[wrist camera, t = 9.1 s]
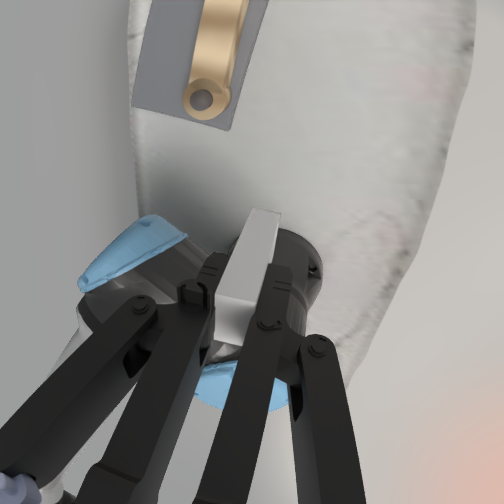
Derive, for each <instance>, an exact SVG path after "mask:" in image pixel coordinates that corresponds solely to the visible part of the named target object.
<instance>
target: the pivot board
mask: <svg viewBox="0 0 504 504" xmlns="http://www.w3.org/2000/svg"><path fill="white" fill-rule="evenodd" d="M268 1H269V0H249V3H248V7H247V12H246V16H245V20H244V24H243V28H242V33H241V37H240V41H239V46H238V50H237V55H236V59H235V64H234V69H233V73H232V78H231V83H230V89H231V93H232V98H231V102H230V105H229V106H228V108H227V109H226V110H225V111H223V112H222V113H220V114H219V115H217V116H216V117H214V118H212V119H209V120H198V119H196V118H193V117H192V116H190V115H189V114H188V113H187V111H186V110H185V108H184V105H183V101H182V97H183V92H184V90H185V88H186V87H187V85H188V84H189V78H190V73H191V67H192V61H193V56H194V50H195V45H196V40H197V35H198V30H199V25H200V20H201V16H202V11H203V7H204V2H205V0H153V1H152V5H151V9H150V12H149V16H148V21H147V25H146V29H145V33H144V38H143V42H142V47H141V52H140V57H139V62H138V67H137V73H136V79H135V85H134V91H133V97H132V104H131V106H132V107H137V108H141V109H145V110H150V111H154V112H158V113H162V114H166V115H170V116H174V117H178V118H182V119H186V120H190V121H193V122H197V123H201V124H204V125H208V126H211V127H215V128H218V129H222V130H225V131H228V130H230V128H231V124H232V120H233V117H234V113H235V109H236V106H237V102H238V99H239V95H240V92H241V88H242V85H243V81H244V78H245V75H246V71H247V68H248V64H249V61H250V58H251V55H252V51H253V48H254V45H255V42H256V38H257V35H258V32H259V29H260V26H261V23H262V20H263V16H264V13H265V10H266V7H267V4H268Z"/></svg>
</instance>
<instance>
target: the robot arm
mask: <svg viewBox="0 0 504 504" xmlns="http://www.w3.org/2000/svg"><path fill="white" fill-rule="evenodd" d="M280 214H281V213H277V212H271V211H266V210H261V209H256V208H252V209H251V212H250V214H249V216H248V219H247V221H246V223H245V225H244V228H243V230H242V232H241V234H240V237H239V239H237V240H236V241H235V243H234V244H233V245H232V247H231V248H230V250H229V253H228V255H225V254H220V253H215V252H214V253H213V254H211V255H210V256H209V255H208V254H207V253H206V252H205V251H203V250H202V249H201V248H200V247H199V246H198V245H196V244H195V243H194V242H193V241H192V240H190V239H189V238H188V237H187V236H188V235H187V234H186V233H185V232H181V231H180V230H178V229H177V228H176V227H174V226H173V225H172V224H171V223H169V222H168V221H167V220H165V219H164V218H163V217H161V216H159V215H155V214H149V215H146V216H143V217H141V218H140V219H138V220H137V221H136V222H134V223H133V224H132V225H131V226H129V227H128V228H127V229H126V230H125V231H124V232H123V233H121V234H120V235H119V236H118V237H117V238H116V239H115V240H114V241H113V242H112V243H111V244H110V245H109V246H108V247H107V248H106V249H105V250H104V251H103V252H102V253H101V254H100V255H99V256H98V257H97V258H96V259H95V260H94V261H93V262H92V263H91V264H90V265H89V267H88V268H87V269H86V271H85V272H84V273H83V275H82V276H80V278H79V279H78V282H77V284H78V287H79V288H80V291H81V292H82V293H85V295H84V297H83V298H82V299H81V301H80V302H79V304H78V305H77V307H76V312H77V317H78V322H79V328H78V329H77V331H76V333H75V334H74V335H73V337H72V338H71V340H70V341H69V343H68V345H67V346H66V347H65V349H64V351H63V352H62V354H61V355H60V357H59V358H58V360H57V361H56V363H55V365H54V366H53V368H52V369H51V371H50V373H49V374H48V376H47V378H46V379H45V381H44V382H43V384H42V385H41V386H40V387H39V388H38V389H37V390H36V391H35V392H34V393H33V394H32V395H31V396H30V397H29V398H28V400H27V401H26V402H25V403H24V404H23V405H22V406H21V407H20V408H19V409H18V410H17V411H16V412H15V413H14V415H13V416H12V417H11V418H10V419H9V420H8V421H7V422H6V423H5V424H4V426H3V427H2V428H1V429H0V504H157V502H158V493H159V489H160V486H161V484H162V481H163V478H164V475H165V473H166V470H167V467H168V464H169V461H170V459H171V456H172V453H173V450H174V448H175V445H176V442H177V439H178V437H179V434H180V431H181V428H182V426H183V423H184V420H185V417H186V415H187V412H188V409H189V406H190V403H191V401H192V398H193V396H194V395H195V396H196V397H197V398H198V399H200V400H201V401H203V402H204V403H207V404H209V405H211V406H214V407H216V408H219V409H223V412H222V415H221V418H220V421H219V425H218V428H217V431H216V434H215V437H214V441H213V444H212V447H211V450H210V454H209V457H208V460H207V463H206V466H205V470H204V472H203V476H202V479H201V482H200V485H199V489H198V491H197V494H196V497H195V499H194V501H193V502H192V504H246V502H247V499H248V494H249V491H250V487H251V483H252V479H253V475H254V470H255V466H256V462H257V458H258V454H259V450H260V445H261V441H262V436H263V432H264V428H265V423H266V418H267V414H268V412H270V411H274V410H277V409H280V408H282V407H284V406H286V405H287V404H288V403H289V412H290V421H291V431H292V441H293V452H294V461H295V472H296V483H297V494H298V504H366V498H365V492H364V486H363V480H362V474H361V469H360V463H359V457H358V452H357V447H356V441H355V436H354V431H353V426H352V421H351V416H350V411H349V406H348V403H347V397H346V392H345V388H344V383H343V379H342V374H341V370H340V366H339V361H338V357H337V353H336V349H335V346H334V344H333V342H332V341H331V340H330V339H329V338H327V337H325V336H323V335H318V334H313V335H308V336H307V337H305V330H306V319H307V312H308V311H309V309H310V307H311V306H312V304H313V302H314V301H315V299H316V297H317V296H318V294H319V292H320V289H321V286H322V279H323V266H322V262H321V259H320V256H319V254H318V253H317V251H316V250H315V249H314V247H313V246H312V245H311V244H310V243H309V242H308V241H306V240H305V239H304V238H302V237H300V236H299V235H297V234H295V233H292V232H289V231H286V230H282V229H278V226H279V220H280ZM137 381H138V382H137ZM136 382H137V384H136ZM135 384H136V386H135V388H134V390H133V392H132V395H131V397H130V399H129V401H128V403H127V405H126V407H125V409H124V411H123V414H122V416H121V418H120V420H119V422H118V424H117V427H116V429H115V431H114V433H113V435H112V437H111V439H110V442H109V444H108V446H107V448H106V451H105V453H104V455H103V457H102V459H101V460H100V461H99V462H98V463H96V464H94V465H93V466H92V467H91V468H90V469H89V471H88V473H87V474H86V476H85V479H84V481H83V483H82V486H81V488H80V490H79V493H78V495H77V497H75V496H74V495H72V494H70V493H68V492H66V491H65V490H63V483H62V480H61V479H62V478H63V476H64V475H65V474H66V472H67V471H68V470H69V468H70V467H71V466H72V464H73V463H74V462H75V460H76V459H77V458H78V456H79V455H80V454H81V452H82V451H83V450H84V448H85V447H86V446H87V444H88V443H89V442H90V440H91V439H92V438H93V436H94V435H95V434H96V432H97V430H99V428H100V427H101V426H102V424H103V423H104V421H105V420H106V419H107V418H108V416H109V415H110V414H111V412H112V411H113V410H114V408H115V407H116V406H117V405H118V404H119V403H120V401H121V400H122V399H123V398H124V397H125V396H126V394H127V393H128V392H129V391H130V390H131V388H132V387H133V386H134V385H135Z"/></svg>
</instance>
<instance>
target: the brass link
mask: <svg viewBox="0 0 504 504" xmlns="http://www.w3.org/2000/svg"><path fill="white" fill-rule="evenodd" d="M248 3H249V0H205V2H204V7H203V11H202V16H201V20H200V25H199V30H198V35H197V40H196V45H195V50H194V56H193V61H192V67H191V73H190V78H189V84H188V85H187V87H186V88H185V90H184V92H183V97H182V101H183V105H184V108H185V110H186V111H187V113H188V114H189V115H190V116H192V117H193V118H196V119H198V120H209V119H212V118H214V117H216V116H217V115H219V114H220V113H222V112H223V111H225V110H226V109H227V108H228V106H229V105H230V102H231V98H232V93H231V89H230V83H231V78H232V73H233V69H234V64H235V59H236V55H237V50H238V46H239V41H240V37H241V33H242V28H243V24H244V20H245V16H246V12H247V7H248Z"/></svg>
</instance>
